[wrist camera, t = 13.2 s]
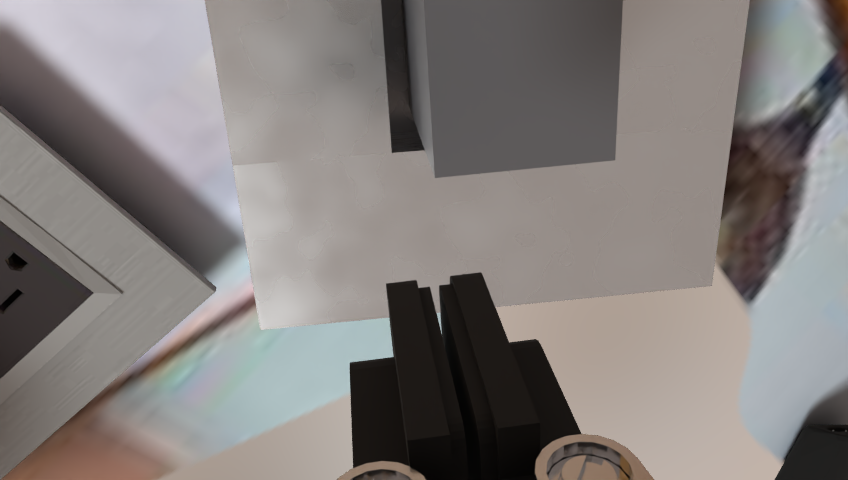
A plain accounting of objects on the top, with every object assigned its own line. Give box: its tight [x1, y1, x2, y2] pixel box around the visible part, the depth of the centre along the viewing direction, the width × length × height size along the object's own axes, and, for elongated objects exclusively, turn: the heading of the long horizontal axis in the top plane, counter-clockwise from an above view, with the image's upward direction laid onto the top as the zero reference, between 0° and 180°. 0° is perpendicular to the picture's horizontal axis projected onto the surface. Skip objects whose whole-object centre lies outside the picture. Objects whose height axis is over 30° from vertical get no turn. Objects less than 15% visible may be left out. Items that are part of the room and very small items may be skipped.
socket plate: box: [205, 0, 750, 330], centre depth 23 cm, size 18×16×4 cm
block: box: [402, 0, 623, 178], centre depth 20 cm, size 5×5×7 cm
